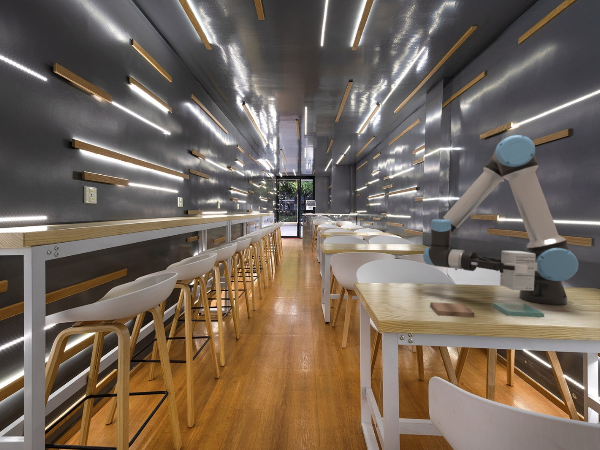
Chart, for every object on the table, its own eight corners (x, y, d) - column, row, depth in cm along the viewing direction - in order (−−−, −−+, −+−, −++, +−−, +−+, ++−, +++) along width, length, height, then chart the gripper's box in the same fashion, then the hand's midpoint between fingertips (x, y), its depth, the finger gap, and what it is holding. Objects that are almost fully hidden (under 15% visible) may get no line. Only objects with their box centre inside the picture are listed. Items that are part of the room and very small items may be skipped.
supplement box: (499, 285, 115) (500, 250, 115) (520, 286, 115) (521, 250, 114) (512, 290, 108) (513, 252, 107) (534, 290, 107) (536, 253, 107)
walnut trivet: (462, 309, 115) (462, 303, 115) (474, 318, 104) (474, 312, 104) (430, 307, 117) (430, 302, 117) (438, 317, 106) (438, 311, 106)
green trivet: (525, 309, 116) (525, 304, 116) (543, 319, 105) (544, 313, 105) (492, 307, 117) (492, 302, 117) (507, 317, 107) (507, 311, 106)
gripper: (475, 267, 132) (541, 276, 115) (449, 272, 118) (520, 283, 100) (476, 249, 132) (542, 255, 115) (450, 251, 117) (521, 259, 100)
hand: (532, 268), depth 108 cm, fingers closed on supplement box, 10 cm apart
